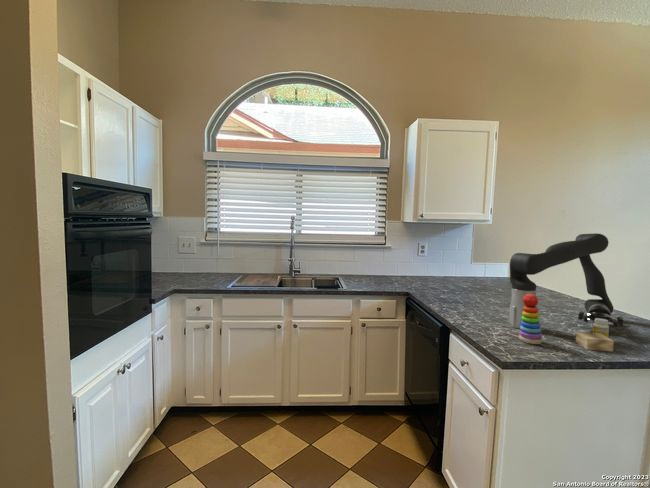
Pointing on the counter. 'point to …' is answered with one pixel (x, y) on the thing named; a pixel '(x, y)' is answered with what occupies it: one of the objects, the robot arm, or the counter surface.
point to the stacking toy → (530, 321)
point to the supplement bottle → (601, 326)
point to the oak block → (594, 341)
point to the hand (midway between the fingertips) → (600, 322)
